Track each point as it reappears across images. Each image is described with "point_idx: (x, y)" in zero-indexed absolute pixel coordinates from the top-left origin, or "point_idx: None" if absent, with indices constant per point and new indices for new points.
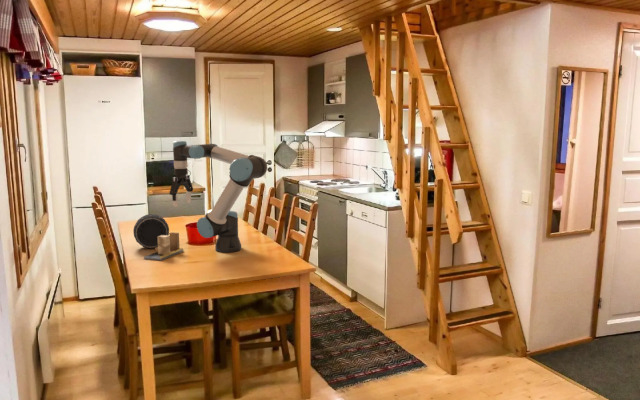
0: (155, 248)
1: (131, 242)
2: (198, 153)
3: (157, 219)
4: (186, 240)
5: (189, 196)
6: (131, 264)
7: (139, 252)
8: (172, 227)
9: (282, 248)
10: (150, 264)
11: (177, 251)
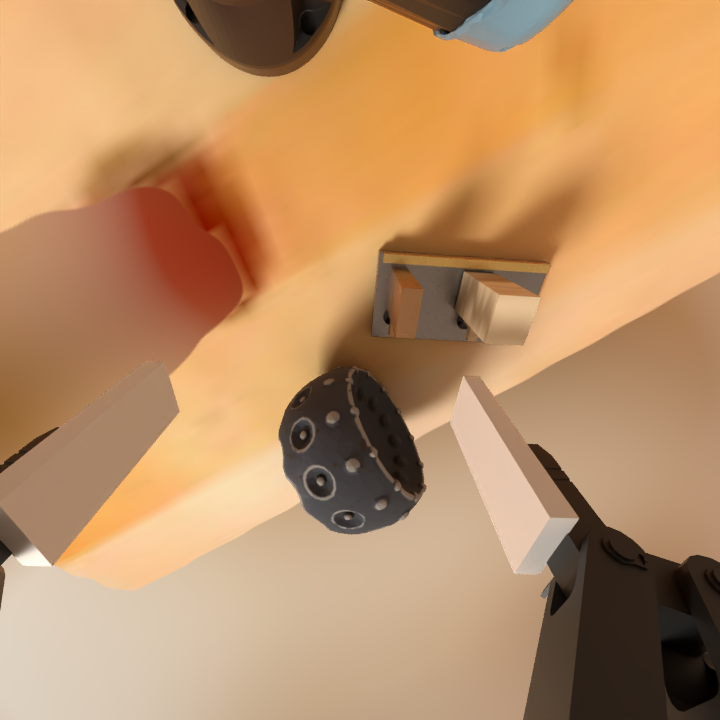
0: (476, 338)
1: None
2: None
3: (377, 459)
4: (205, 338)
5: (100, 432)
6: (588, 342)
7: (428, 400)
8: None
9: None
10: (597, 275)
11: (427, 255)
